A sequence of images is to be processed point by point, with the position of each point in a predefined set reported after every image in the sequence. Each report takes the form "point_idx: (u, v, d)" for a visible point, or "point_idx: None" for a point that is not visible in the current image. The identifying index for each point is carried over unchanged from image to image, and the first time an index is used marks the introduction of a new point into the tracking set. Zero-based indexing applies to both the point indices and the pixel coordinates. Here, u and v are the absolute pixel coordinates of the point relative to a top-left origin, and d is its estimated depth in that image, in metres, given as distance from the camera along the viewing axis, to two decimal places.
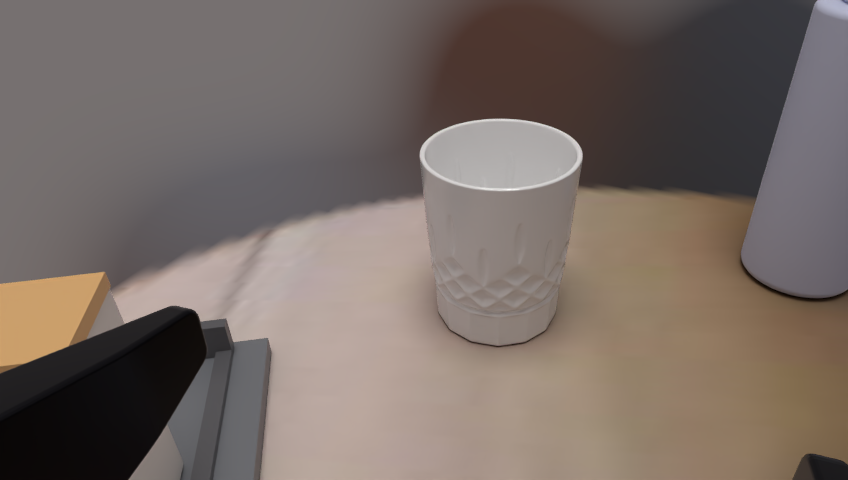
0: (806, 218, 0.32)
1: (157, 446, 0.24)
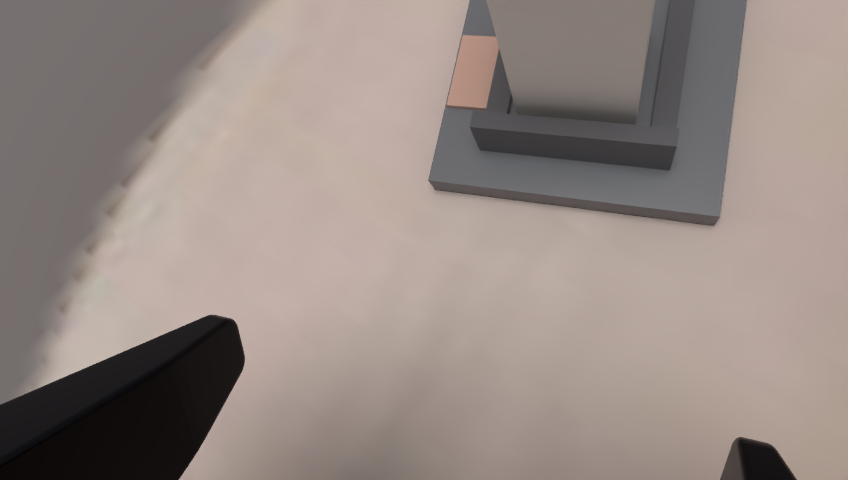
0: None
1: None
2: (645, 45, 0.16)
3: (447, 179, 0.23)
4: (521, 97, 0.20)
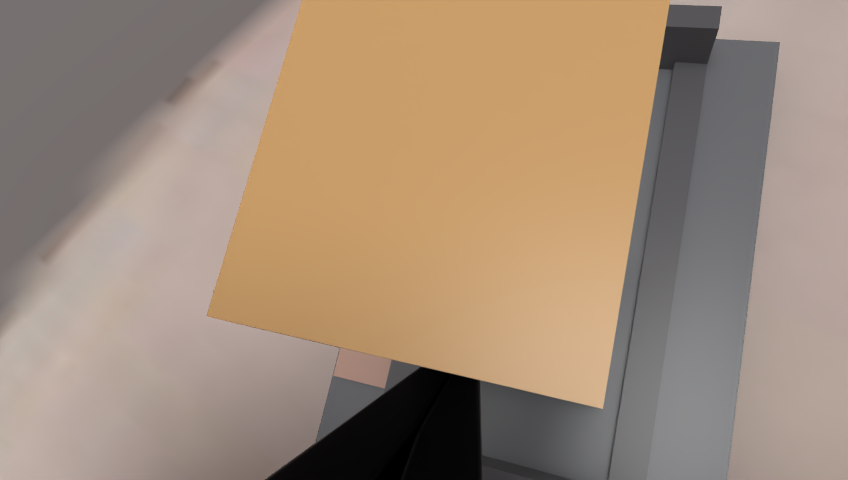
0: None
1: None
2: None
3: None
4: None
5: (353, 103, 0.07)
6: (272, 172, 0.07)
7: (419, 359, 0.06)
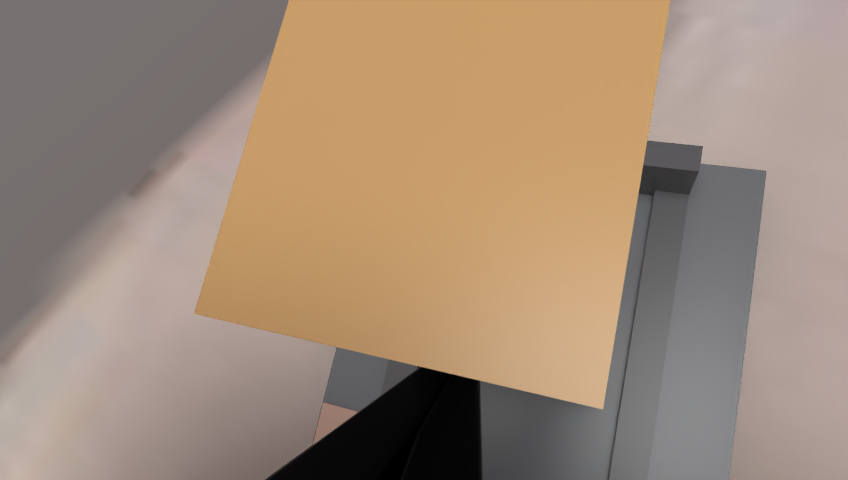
0: None
1: None
2: None
3: None
4: None
5: (345, 94, 0.07)
6: (262, 165, 0.07)
7: (413, 358, 0.06)
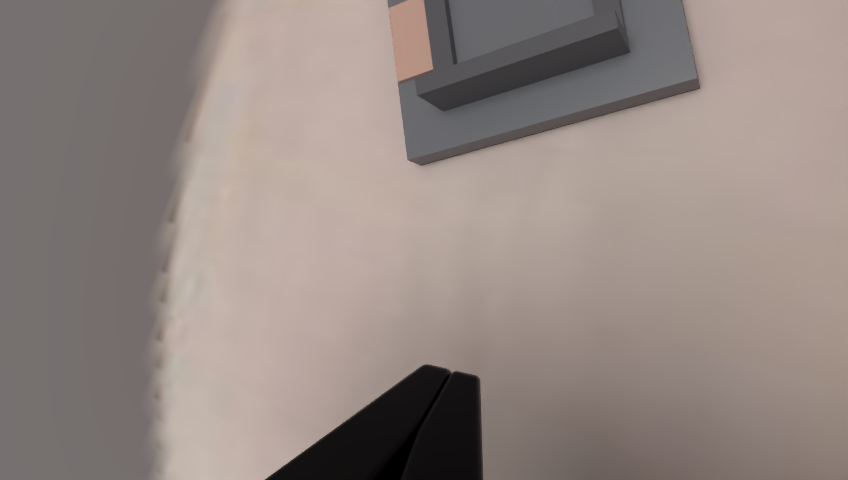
0: None
1: None
2: None
3: (424, 151, 0.22)
4: None
5: None
6: None
7: None
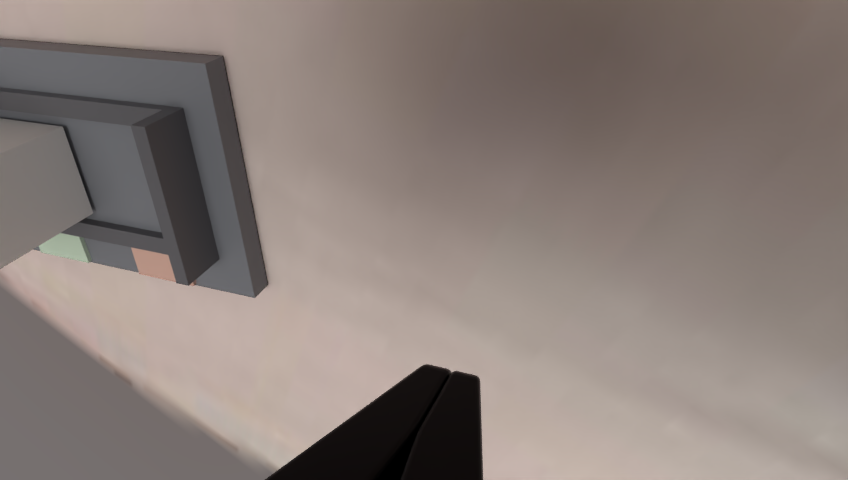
0: None
1: None
2: None
3: (249, 283, 0.26)
4: (51, 229, 0.25)
5: None
6: None
7: None
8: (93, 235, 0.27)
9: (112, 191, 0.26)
